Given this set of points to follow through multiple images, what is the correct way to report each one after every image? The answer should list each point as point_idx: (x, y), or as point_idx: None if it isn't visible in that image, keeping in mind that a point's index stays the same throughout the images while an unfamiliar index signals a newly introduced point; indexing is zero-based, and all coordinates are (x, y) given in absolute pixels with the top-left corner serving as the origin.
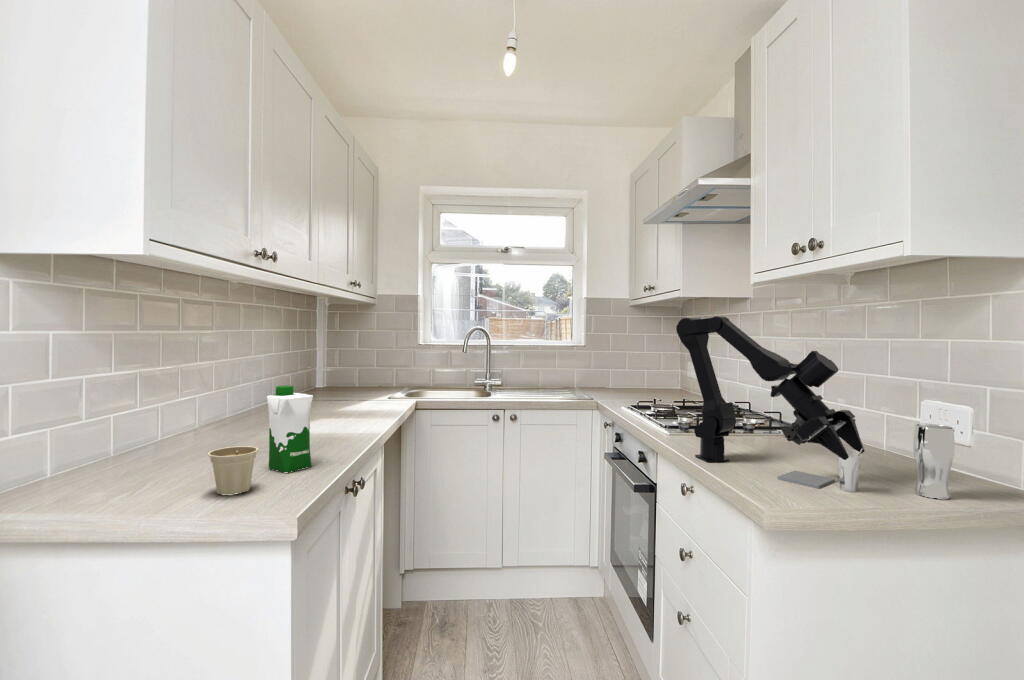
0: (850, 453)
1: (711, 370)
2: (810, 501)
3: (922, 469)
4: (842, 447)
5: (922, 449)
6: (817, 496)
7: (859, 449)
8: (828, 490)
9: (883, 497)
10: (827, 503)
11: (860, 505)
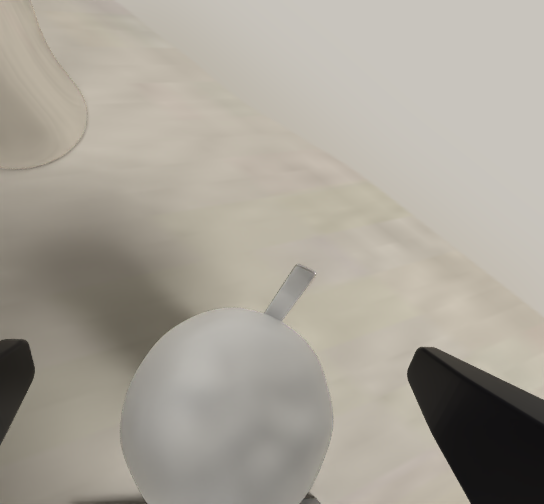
0: (318, 374)
1: None
2: None
3: (14, 43)
4: (534, 397)
5: None
6: None
7: (10, 387)
8: None
9: (220, 244)
10: (483, 366)
11: (402, 276)
